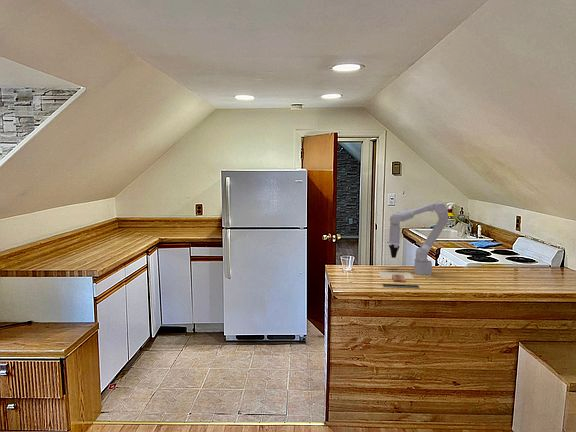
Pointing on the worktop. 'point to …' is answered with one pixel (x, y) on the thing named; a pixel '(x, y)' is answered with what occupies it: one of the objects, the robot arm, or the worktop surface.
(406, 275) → the board
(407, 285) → the mat
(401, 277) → the block
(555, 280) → the worktop surface
